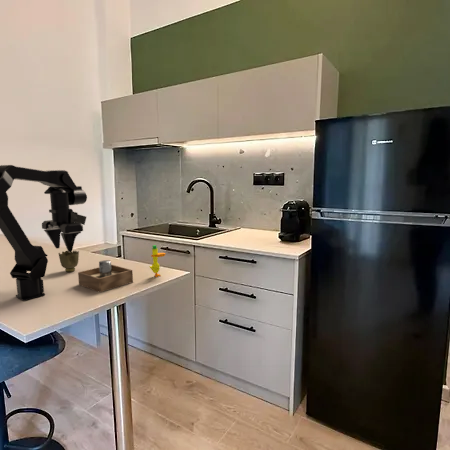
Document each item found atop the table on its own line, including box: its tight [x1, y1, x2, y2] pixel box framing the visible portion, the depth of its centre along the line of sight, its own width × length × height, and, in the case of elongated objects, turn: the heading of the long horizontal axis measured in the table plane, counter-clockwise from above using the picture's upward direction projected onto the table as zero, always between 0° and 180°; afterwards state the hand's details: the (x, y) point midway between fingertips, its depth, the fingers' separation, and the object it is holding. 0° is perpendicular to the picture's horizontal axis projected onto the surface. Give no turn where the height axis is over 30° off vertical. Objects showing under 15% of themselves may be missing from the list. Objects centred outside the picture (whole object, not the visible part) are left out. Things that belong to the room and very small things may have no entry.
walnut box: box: [77, 263, 134, 293], centre depth 117 cm, size 13×13×4 cm
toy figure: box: [148, 245, 167, 278], centre depth 125 cm, size 7×4×12 cm, turn 119°
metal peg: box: [98, 259, 112, 278], centre depth 117 cm, size 4×4×8 cm
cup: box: [58, 250, 80, 273], centre depth 133 cm, size 8×7×8 cm
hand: (63, 249), depth 118 cm, fingers open, 9 cm apart
